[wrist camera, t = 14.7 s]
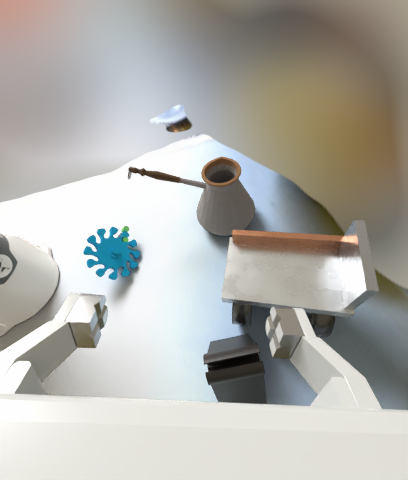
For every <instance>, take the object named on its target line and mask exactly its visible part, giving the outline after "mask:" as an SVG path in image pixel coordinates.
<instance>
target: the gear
mask: <svg viewBox="0 0 408 480" xmlns="http://www.w3.org/2000/svg"><path fill="white" fill-rule="evenodd" d="M128 230H129V228H128V227H127V226H125V227H124V228H123V229H122V233H121V234H120V235H119V236H118V237H117V238H114V237H113V235H114V234H116V233H117V231H118V229H117V228H114V227H111V229H110V236H109V238H108V239H106V238H104V234H105V232H106V231H105V229H98V231H97V234H98V235H99V237H100V239H101V243H100V244H98V243H96V237H95V236H94V235H92V236H90V237H89V238H88V239H87V241H88V242H89V243H91V244H93V245H94V246H95V248H96V249H97V252H94V251H92V249H91V248H90V247H88V246H87V247H86V248H85V250H84V253H83V254H85V255H94V256H96V257H97V258H98V261H94V260H93V259H89V260H88V261H87V266H88V267H89V268H91V267H93V266H94V265H97V264H103V265H104V266H105V268H104V269H98V270H97V271H96V274H97V275H98V276H99V277H102V276H103V275H104V273H105V271H106V270H107V269H109V268H113V269H114V272H113V273H111V274H110V275H109V278H110V279H112V280H115V279H117V277H118V276H117V270H118V268H119V267H122V268H123V271H122V273H121V275H122V277H125V276H128V275H130V272H129V271H128V269H127V267H126V261H128V262H129V263H130V268H131V269H134V268H135V267H137V265H138V263H137V262H135V261H133V260H132V259H131V258H130V256H129V254H132V255H133V257H134V258H138V257H139V255H140V252H139V251H132V250H130V249H129V248H128V247H127V245H129V246H131V247H135V246H136V245H137V243H136V240H132V241H130V242H128V238H127V237H128V236H129V234H128V233H127V231H128Z"/></svg>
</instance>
